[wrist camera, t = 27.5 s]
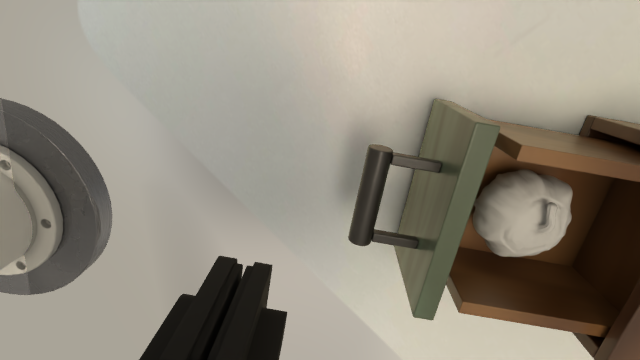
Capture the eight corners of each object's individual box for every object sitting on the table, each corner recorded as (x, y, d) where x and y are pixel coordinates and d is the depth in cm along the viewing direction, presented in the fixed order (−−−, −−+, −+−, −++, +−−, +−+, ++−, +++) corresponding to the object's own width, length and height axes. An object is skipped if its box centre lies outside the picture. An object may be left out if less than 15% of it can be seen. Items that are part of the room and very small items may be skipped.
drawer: (339, 236, 28) (340, 305, 20) (371, 87, 24) (385, 105, 16) (564, 275, 28) (644, 357, 21) (634, 133, 24) (763, 172, 17)
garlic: (505, 141, 23) (549, 166, 19) (566, 185, 24) (623, 220, 19) (444, 210, 25) (469, 250, 20) (503, 249, 26) (540, 295, 21)
